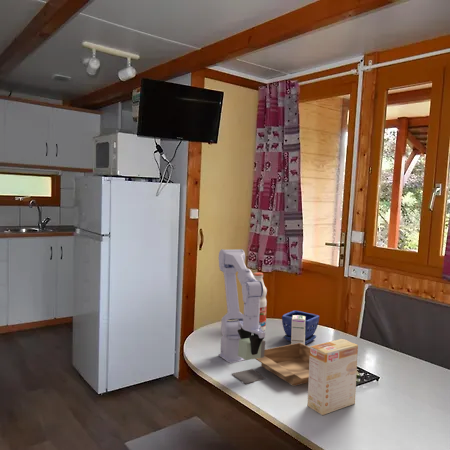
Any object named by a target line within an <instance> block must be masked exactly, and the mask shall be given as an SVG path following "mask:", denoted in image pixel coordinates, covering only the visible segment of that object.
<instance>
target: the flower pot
mask: <svg viewBox="0 0 450 450" xmlns="http://www.w3.org/2000/svg"><path fill="white" fill-rule="evenodd" d="M293 315H301V316H305V345H307V344H309V343H311V342H312V341H314V340H315V339H316V338H317V335H315V333H316V330H317V328H318V325H319V321H320V315H318V314H315V313H309V312H304V311H301V310H292V311H290V312H287V313H284V314H283V315H282V316H281V321H282V323H281V324H282V328H283V331H284V333H285V335H283V338H284V339H285V340H286V341H289V342H291V329H292V316H293Z"/></svg>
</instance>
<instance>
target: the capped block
mask: <svg viewBox="0 0 450 450" xmlns="http://www.w3.org/2000/svg"><path fill="white" fill-rule="evenodd" d="M265 348H266V340H264V339H263V340H262V342H261V344H260V347H259V350H258V353H257V354H255V355H252V353H251V343H250V339H249V338H244V339H239V350H238V356H240V357H241V358H243V359H245V360H244V361H249V360H250V361H251V360H256V359H257V358H263V357H264V352H265Z"/></svg>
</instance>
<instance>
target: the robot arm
mask: <svg viewBox="0 0 450 450" xmlns="http://www.w3.org/2000/svg"><path fill="white" fill-rule="evenodd" d="M245 260H246V253H245V250H243V248H242V249H223V248H222V249H220V250H219V252H218V267H219V271H221V272H222V273H223V279H224V287H225V288H224V290H225V299H226V309H227V312H226V313H225V314H224V316H222V317H221V319H220V320H221V321H220V322H221V323H220V325H221V326H220V331H221V335H222V336H221V338H220V353H218V356H219V357H220V358H222V359H223V360H225V361H227V363H229V364H233V363H238V362H242V361H246V360H245V359H243V358H241V357H240V356H238V350H239V339H244V338H249V339H250V343H251V353H252V355H255V354H257V353H258V350H259V347H260V344H261V342H262V340H264V339H265V338H266V331H265V330H264V331H263V330H262V329H261V325H259V315H260V297H262V295H263V285H262V282H261V281H258V280H256V279H255V277H254V275H253V273H254V272H252V270H251V269H250V268H248V267H247V265H246V263H245ZM236 274H237V275H236ZM237 280H238V282H239V284H240V286H241V294H242V302H243V313H242V312H241V311H240V305H239V304H240V303H239V295H238V294H239V293H238V283H237Z"/></svg>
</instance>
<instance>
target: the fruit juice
mask: <svg viewBox="0 0 450 450" xmlns="http://www.w3.org/2000/svg"><path fill="white" fill-rule="evenodd" d="M252 273H253V275H254V277H255V279H256V280H258V281H261V282H262V285H263V295H262V297H260V315H259V325H261V329H262V330H263V331H264V332H265V331H266V328H267V327H266V325H267V303H268V301H267V292H268V289H267V287H266V286H265V283H264V279H263V278H264V273H263V272H258V271H256V272H252Z"/></svg>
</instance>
